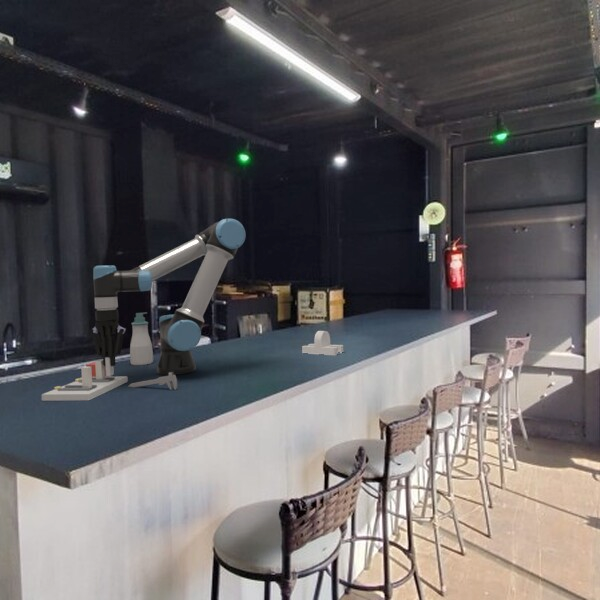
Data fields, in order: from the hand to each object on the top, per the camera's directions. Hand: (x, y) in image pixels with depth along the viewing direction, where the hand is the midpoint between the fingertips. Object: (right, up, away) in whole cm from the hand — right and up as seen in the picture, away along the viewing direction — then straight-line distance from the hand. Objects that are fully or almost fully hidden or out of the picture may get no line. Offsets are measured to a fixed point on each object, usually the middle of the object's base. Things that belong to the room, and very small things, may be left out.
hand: (110, 375), depth 168 cm
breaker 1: (-3, -2, -12) cm, 12 cm away
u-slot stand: (+79, +1, +57) cm, 97 cm away
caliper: (+16, -4, -4) cm, 18 cm away
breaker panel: (-6, -5, -5) cm, 9 cm away
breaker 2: (-4, -2, +1) cm, 4 cm away
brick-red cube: (-10, -4, +15) cm, 18 cm away
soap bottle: (-3, -2, +44) cm, 44 cm away
